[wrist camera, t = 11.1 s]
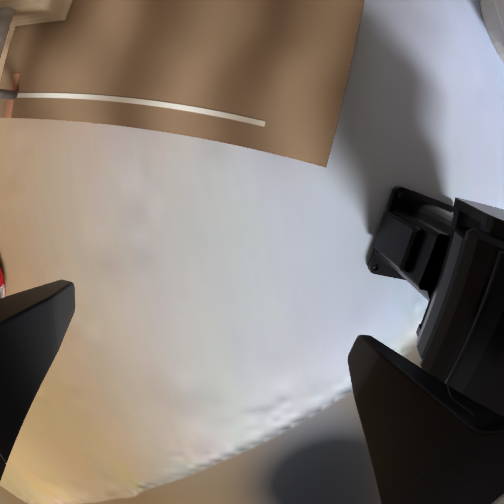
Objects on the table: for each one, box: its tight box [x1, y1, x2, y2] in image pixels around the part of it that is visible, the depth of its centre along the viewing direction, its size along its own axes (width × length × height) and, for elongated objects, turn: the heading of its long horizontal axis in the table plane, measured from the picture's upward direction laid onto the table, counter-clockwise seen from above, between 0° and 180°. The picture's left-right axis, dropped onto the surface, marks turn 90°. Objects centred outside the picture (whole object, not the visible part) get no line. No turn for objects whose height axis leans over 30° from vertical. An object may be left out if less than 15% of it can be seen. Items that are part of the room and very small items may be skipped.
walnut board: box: [0, 0, 364, 167], centre depth 15 cm, size 22×12×2 cm, turn 77°
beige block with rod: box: [0, 0, 73, 100], centre depth 10 cm, size 5×12×8 cm, turn 167°
